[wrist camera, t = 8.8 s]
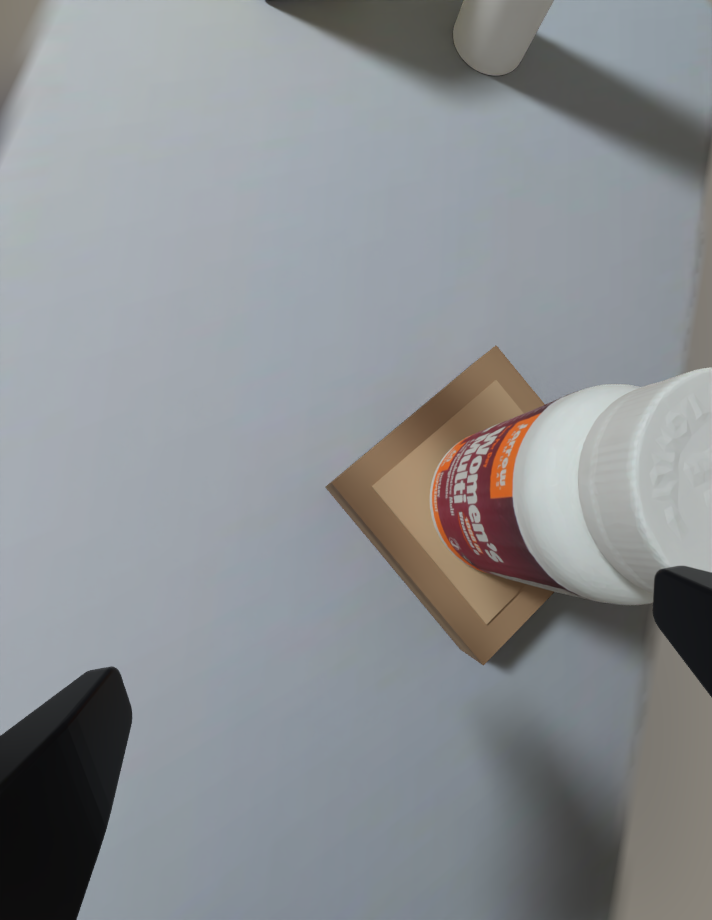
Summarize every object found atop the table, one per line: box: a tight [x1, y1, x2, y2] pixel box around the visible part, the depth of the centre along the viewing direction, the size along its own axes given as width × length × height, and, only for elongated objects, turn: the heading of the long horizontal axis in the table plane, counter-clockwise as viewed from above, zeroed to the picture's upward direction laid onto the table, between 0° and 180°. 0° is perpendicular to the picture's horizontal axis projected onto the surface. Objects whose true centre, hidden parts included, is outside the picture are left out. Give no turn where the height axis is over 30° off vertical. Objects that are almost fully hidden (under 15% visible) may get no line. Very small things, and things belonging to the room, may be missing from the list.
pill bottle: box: [430, 367, 712, 605], centre depth 15 cm, size 6×6×11 cm
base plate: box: [326, 346, 554, 665], centre depth 22 cm, size 10×10×3 cm
